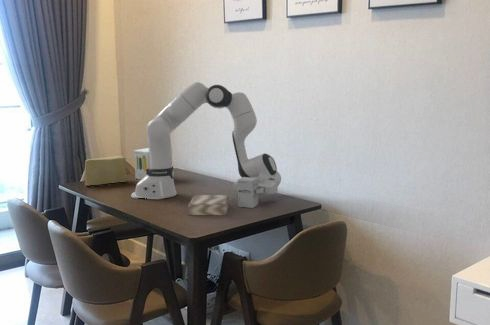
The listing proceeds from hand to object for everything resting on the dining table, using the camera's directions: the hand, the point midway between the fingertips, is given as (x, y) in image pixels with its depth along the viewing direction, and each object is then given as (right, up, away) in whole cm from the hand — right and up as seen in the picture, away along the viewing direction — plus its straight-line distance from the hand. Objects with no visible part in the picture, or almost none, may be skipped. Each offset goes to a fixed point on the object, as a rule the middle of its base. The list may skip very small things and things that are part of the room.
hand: (247, 190), depth 229 cm
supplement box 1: (-55, +3, +66) cm, 86 cm away
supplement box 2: (+1, -7, +2) cm, 7 cm away
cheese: (-79, 0, +55) cm, 96 cm away
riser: (-17, -8, -4) cm, 19 cm away
